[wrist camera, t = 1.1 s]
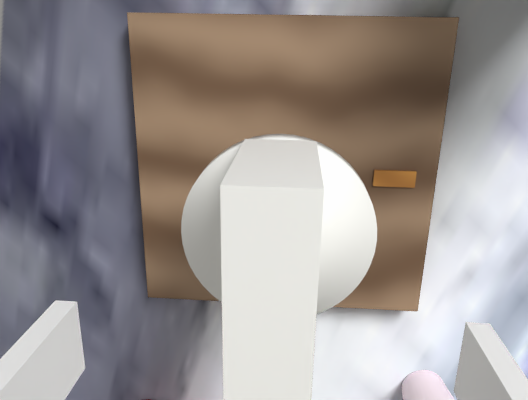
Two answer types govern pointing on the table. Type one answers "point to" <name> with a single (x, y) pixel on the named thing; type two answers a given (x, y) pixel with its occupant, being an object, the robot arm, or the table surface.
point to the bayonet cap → (276, 255)
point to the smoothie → (425, 387)
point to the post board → (293, 122)
